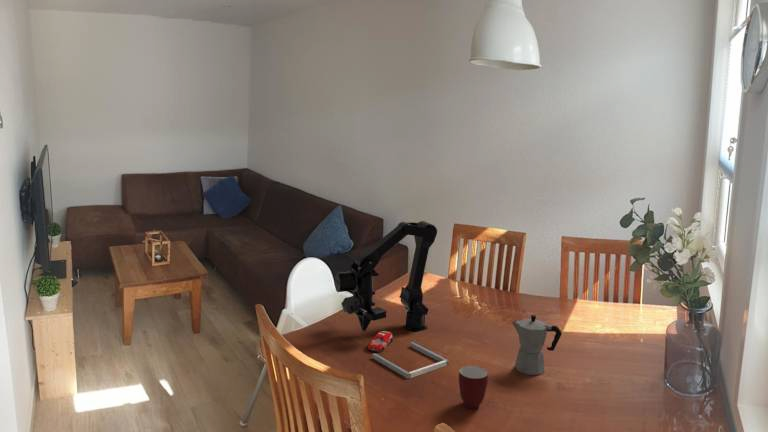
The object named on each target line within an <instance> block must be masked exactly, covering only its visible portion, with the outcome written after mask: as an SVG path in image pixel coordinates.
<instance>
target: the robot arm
mask: <svg viewBox="0 0 768 432" xmlns="http://www.w3.org/2000/svg"><path fill="white" fill-rule="evenodd" d="M437 235H438V229H437V227H436V226H435V225H434V224H432V223H429V222H427V221H426V220H420V221H419V222H413V221H412V222H410V221H408V222H406V221H401V222H398V225H397V226H396V227H394V228H393V229H392V230H391V231H390V232H388V233H387V234H386V235H385V236H383V238H381V239H379V241H377V242H376V243H375V244H374V245H372V246H369V247H366V248H364V249H362V250H361V251H359V252H357V254H355V256H354V260H353V262H352V263H351V265H350V266H349V268H348V271H338V272H336V275H335V278H334V279H333V282H334V289H335V291H336V292H337V293H343V292H349V291H353V292H352V295H351V296H347V297H344V299H343V300H342V301H341V304H340V305H341V307H342V310H343V312H345V313H347V314H349V315H353V314H355V316H357V319H358V321H359V325H360V327H361V330H362V332H366V331H367V329H368V327H369V325H370V324H371V322H372V321H373V322H374V321H378V320H381V319H385V318H387V310H385V309H384V308H382V307H380V306H377V307H375V306H376V302H374V301H373V297H374V296H373V295H376V290H374V289H373V288H374V286H373V285H374V277H378V276H379V275H380V274H379V273H378V272H377V271H376V269H375V268H376V267H377V266H378V264H379V263H380V261H381V259H382V257H384V255H386V253H389V251H390V250H391V249H393V248H394V247H395V246H396V245H397V244H399V242H401V241H402V240H403V239H405V238H406V237H407V236H414V237H413V238H414V243H415V248H414V254H413V259H412V264H411V267H410V274H409V277H408V282H407V284H406V285H405V287H404V286H402V287H401V288H400V289H401V290H400V294H399V298H400V303H401V304H402V305H403V306H404V309H405V310H407V311H406V316H405V324H403V327H404V328H405V329H407V330H410V331H412V332H413V333H417V332H419V331H423V330H427V329H428V326H427V325H425V324H426V315H428V312H429V308H427V307H426V305H425V304H424V303H423V298H424V294H423V289H422V285H423V280H424V274H425V270H426V265H427V259H428V255H429V251H430V248H431V246H433V244H434V243H435V241H436V238H437Z"/></svg>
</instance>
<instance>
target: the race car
mask: <svg viewBox="0 0 768 432" xmlns="http://www.w3.org/2000/svg"><path fill="white" fill-rule="evenodd" d="M393 340H394V339H393V332H391V331H386V330H383V331H382V330H381V331H378V332H377V334H376V335H374V336H373V337H371V341H370V342H369V343H368V344H367V349H368V350H369V351H371V352H375V353H380V352H381V353H382V352H383V351H384V350H385V349H386V348H387V347H388V346H389V345H390V344H391V343H393Z"/></svg>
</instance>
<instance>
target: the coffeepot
mask: <svg viewBox="0 0 768 432" xmlns="http://www.w3.org/2000/svg"><path fill="white" fill-rule="evenodd" d="M511 324H512V326H514V328H515V330H516V332H517V334H518V339H519V344H520V347H519V348H518V352H517V357H516V361H515V365H514V367H515V369H516V370H517V371H518V372H519V373H521V374H524V375H527V376H538V375H541V374H543V373H544V372H545V371H546V369H545V362H544V351H543V347H544V346H545V342H546V338H547V334H548V332H551V333H552V332H553V333H554V332H555V334H554V338H553V340H552V342H551V346H549V347H547V346H546V349H547V351H552V352H553V351H554V350H555V349H556V347H557V344H558V342H559V341H560V338H561V337H562V335H563V333H562V331H561V329H560V328H559V327H558V326H557V325H552V324H547V323H546V322H544V321H541V320H537V316H536V315H533V314H531V315H530V318H528V319H522V320H513V321H512V322H511Z"/></svg>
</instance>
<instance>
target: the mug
mask: <svg viewBox="0 0 768 432" xmlns="http://www.w3.org/2000/svg"><path fill="white" fill-rule="evenodd" d="M488 384H489V371H488V370H487V369H485V368H483V367H481V366H478V365H477V366H476V365H466V366H462V367H461V368H459V370H458V386H459V393H460V398H461V400H462V403H463V404H464V405H465V407H467V408H469V409H478V408H479V407H480V406H481V404H482V403H483V401H484V398H485V395H486V391H487V387H488Z"/></svg>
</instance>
